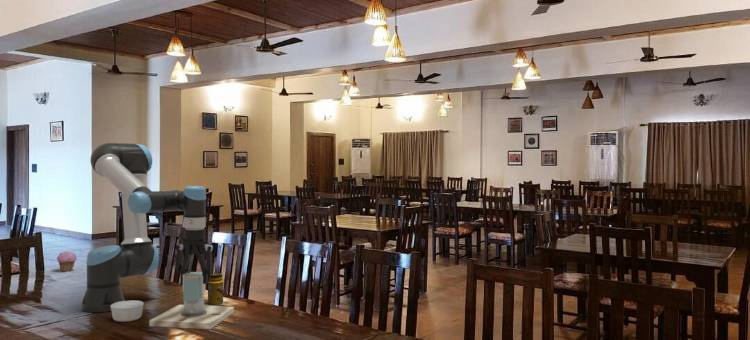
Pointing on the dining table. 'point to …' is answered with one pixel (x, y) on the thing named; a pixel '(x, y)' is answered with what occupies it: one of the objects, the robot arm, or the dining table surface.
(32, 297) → the dining table surface
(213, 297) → the condiment
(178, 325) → the post base
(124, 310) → the ramekin
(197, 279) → the teal block on base
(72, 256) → the cupcake
